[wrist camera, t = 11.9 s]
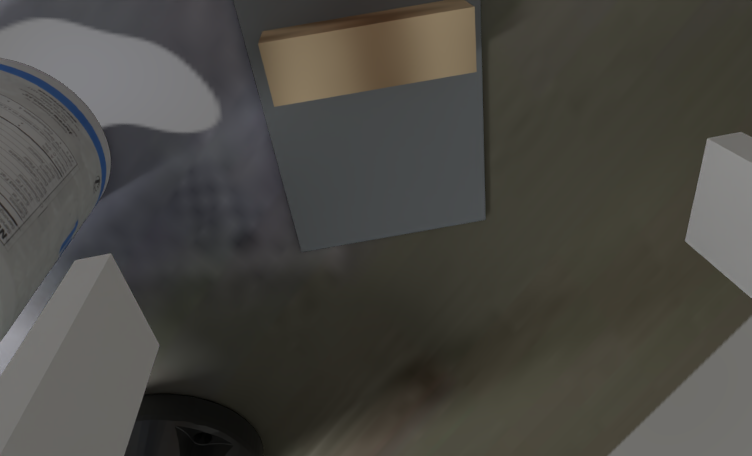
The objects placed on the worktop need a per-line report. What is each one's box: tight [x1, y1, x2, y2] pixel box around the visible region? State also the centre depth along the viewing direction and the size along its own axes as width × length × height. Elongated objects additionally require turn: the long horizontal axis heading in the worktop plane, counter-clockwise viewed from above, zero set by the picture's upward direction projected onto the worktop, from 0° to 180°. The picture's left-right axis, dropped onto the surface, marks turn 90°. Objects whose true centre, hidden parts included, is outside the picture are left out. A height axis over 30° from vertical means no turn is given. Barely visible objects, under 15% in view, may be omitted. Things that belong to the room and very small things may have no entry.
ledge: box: [258, 0, 477, 107], centre depth 25 cm, size 10×3×3 cm, turn 98°
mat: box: [233, 0, 486, 252], centre depth 26 cm, size 12×26×1 cm, turn 8°
